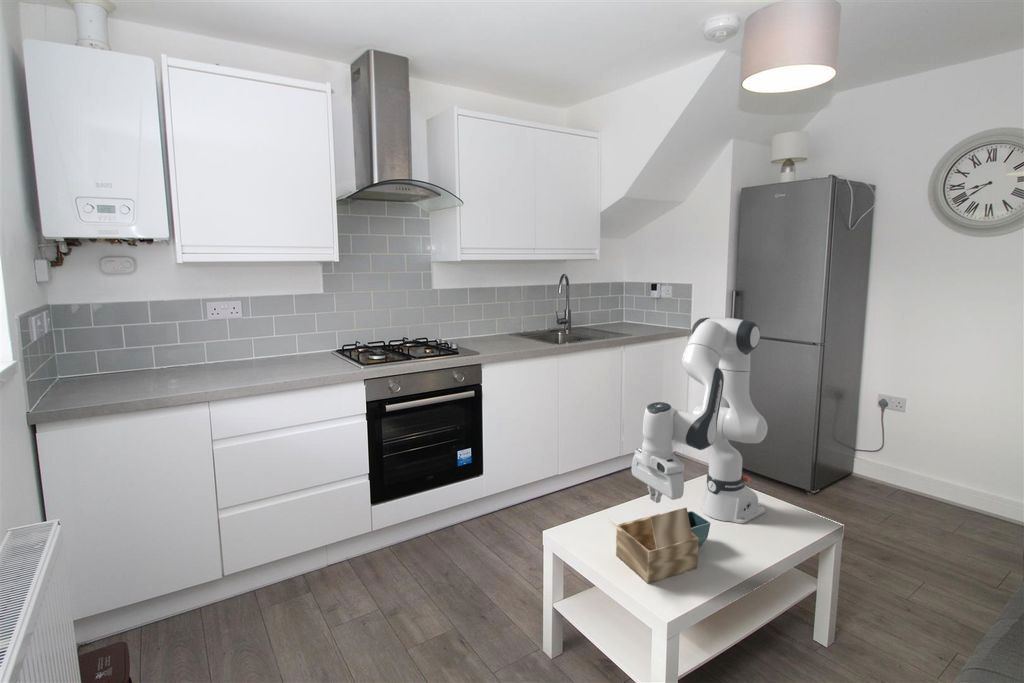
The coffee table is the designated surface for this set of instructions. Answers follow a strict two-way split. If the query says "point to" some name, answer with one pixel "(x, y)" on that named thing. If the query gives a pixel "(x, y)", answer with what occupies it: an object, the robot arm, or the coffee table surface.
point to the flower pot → (699, 527)
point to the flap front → (622, 531)
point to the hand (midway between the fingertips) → (655, 500)
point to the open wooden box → (653, 552)
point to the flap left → (671, 528)
